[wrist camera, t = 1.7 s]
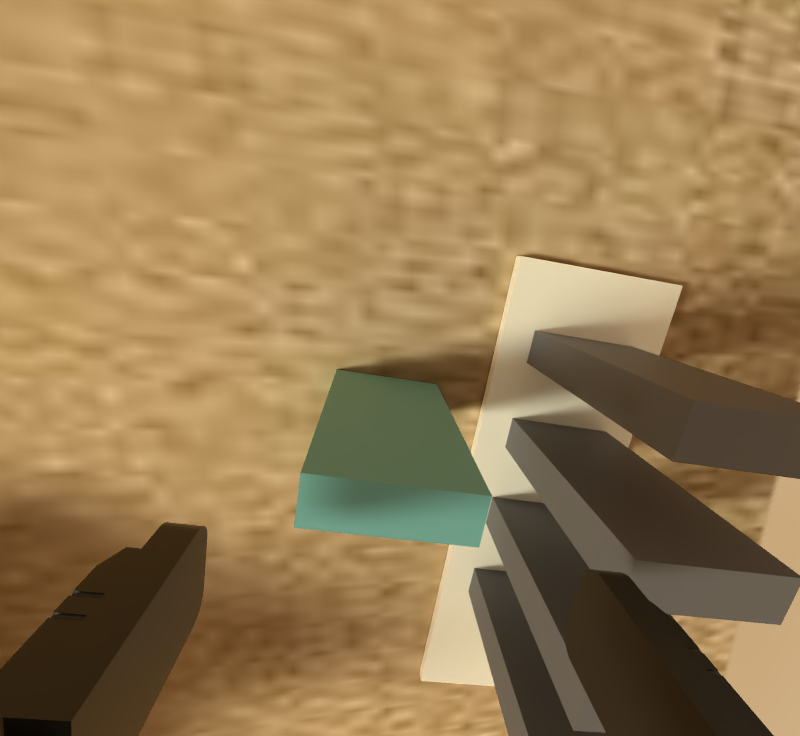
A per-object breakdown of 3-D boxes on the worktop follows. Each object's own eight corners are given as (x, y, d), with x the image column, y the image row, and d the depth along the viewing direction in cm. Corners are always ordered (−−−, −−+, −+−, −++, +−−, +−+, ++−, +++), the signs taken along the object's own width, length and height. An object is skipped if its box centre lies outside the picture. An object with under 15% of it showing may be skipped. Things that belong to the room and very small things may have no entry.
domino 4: (512, 418, 20) (636, 560, 11) (605, 431, 21) (803, 578, 11) (505, 446, 21) (618, 609, 11) (596, 459, 21) (780, 624, 12)
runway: (516, 256, 19) (521, 255, 18) (673, 285, 20) (682, 285, 19) (419, 671, 25) (420, 680, 24) (543, 680, 26) (546, 690, 25)
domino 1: (336, 369, 20) (300, 472, 10) (436, 383, 20) (492, 496, 11) (332, 399, 20) (294, 527, 11) (430, 413, 21) (479, 547, 11)
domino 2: (474, 567, 23) (548, 797, 13) (559, 576, 23) (691, 804, 13) (468, 591, 23) (535, 832, 13) (552, 599, 23) (675, 837, 14)
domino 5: (492, 496, 21) (588, 689, 12) (581, 507, 22) (742, 701, 12) (485, 522, 22) (573, 730, 12) (573, 532, 22) (723, 739, 13)
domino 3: (535, 330, 19) (695, 400, 10) (632, 346, 20) (877, 428, 10) (526, 362, 20) (672, 461, 10) (622, 377, 20) (849, 485, 11)
